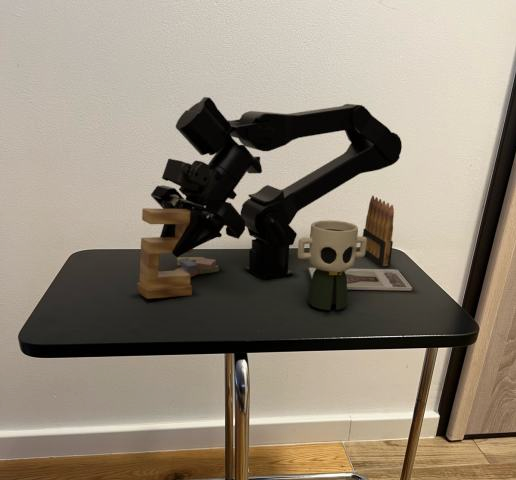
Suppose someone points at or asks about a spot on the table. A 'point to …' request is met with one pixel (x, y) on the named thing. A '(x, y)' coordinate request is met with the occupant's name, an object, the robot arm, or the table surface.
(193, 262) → the letter pile
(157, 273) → the wooden numeral
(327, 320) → the table surface
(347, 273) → the graded card
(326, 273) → the character mug
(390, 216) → the ammunition clip
